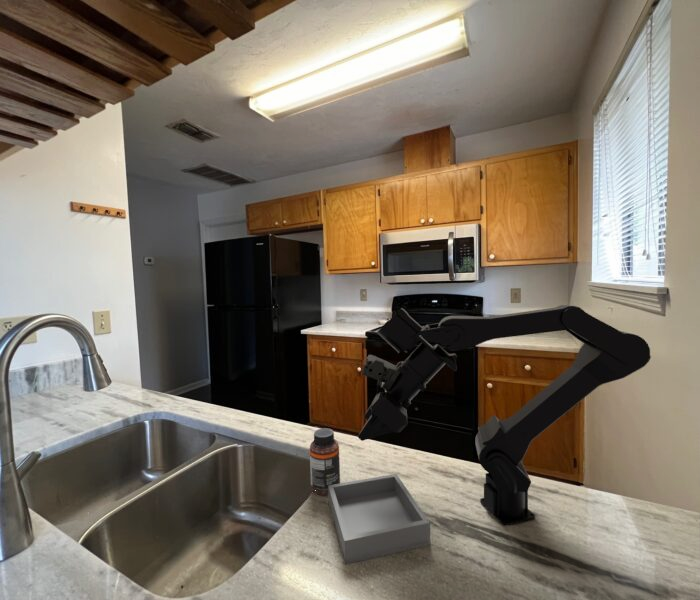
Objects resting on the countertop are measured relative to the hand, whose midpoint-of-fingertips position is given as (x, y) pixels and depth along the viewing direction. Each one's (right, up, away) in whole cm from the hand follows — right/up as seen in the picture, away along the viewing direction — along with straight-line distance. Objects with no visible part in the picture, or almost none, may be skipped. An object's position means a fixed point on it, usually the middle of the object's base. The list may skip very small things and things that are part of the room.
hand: (363, 427), depth 62 cm
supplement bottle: (-8, -13, +3) cm, 15 cm away
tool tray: (+2, -13, -7) cm, 15 cm away
